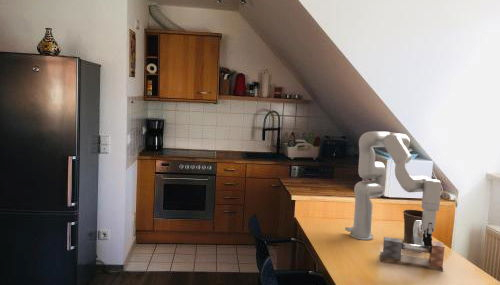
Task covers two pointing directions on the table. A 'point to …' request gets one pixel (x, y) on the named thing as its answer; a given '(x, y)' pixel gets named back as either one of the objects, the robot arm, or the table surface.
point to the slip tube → (416, 248)
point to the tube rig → (394, 256)
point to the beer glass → (418, 233)
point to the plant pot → (410, 223)
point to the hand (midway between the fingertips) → (426, 243)
